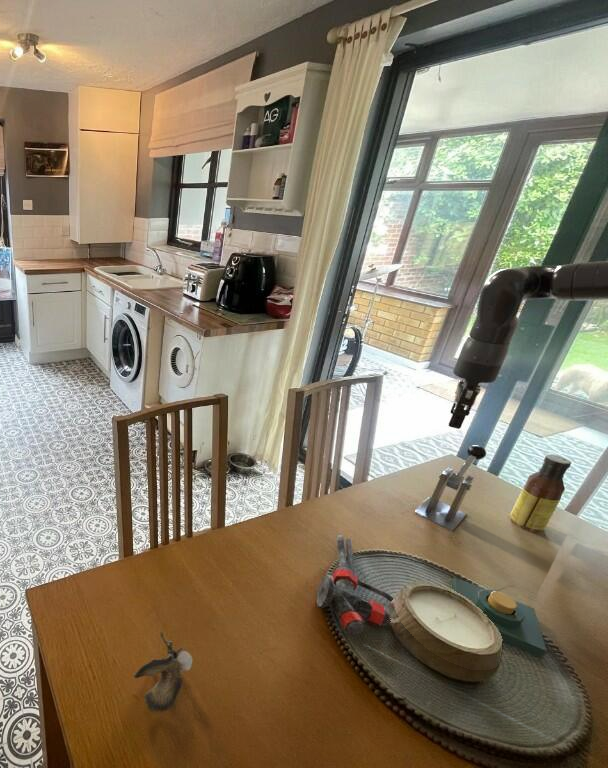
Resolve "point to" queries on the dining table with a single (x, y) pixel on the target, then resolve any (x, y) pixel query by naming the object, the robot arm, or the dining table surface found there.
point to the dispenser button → (502, 602)
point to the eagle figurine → (165, 677)
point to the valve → (350, 595)
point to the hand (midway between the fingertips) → (454, 420)
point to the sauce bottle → (540, 495)
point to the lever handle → (466, 466)
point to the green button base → (507, 620)
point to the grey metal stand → (441, 511)
